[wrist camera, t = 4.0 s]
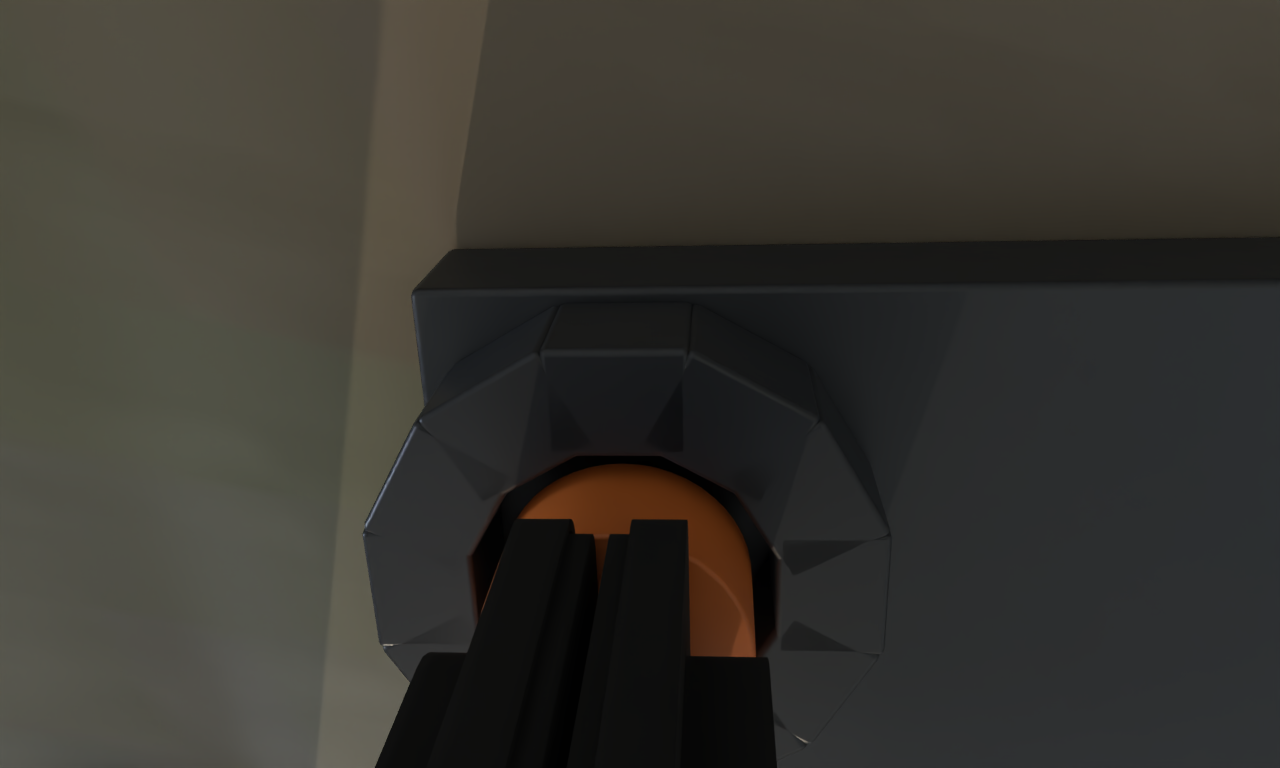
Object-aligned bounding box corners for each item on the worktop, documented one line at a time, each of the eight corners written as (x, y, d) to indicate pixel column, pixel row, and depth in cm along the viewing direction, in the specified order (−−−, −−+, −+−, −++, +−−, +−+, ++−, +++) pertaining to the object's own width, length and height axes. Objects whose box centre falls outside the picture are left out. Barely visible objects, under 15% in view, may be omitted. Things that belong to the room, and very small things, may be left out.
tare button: (495, 461, 11) (461, 534, 10) (753, 461, 11) (758, 536, 10) (515, 671, 12) (488, 765, 11) (750, 675, 12) (755, 772, 11)
